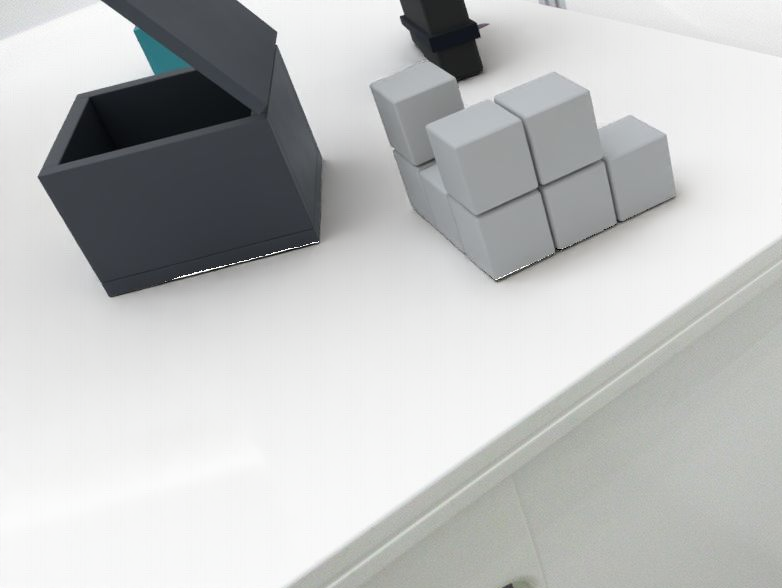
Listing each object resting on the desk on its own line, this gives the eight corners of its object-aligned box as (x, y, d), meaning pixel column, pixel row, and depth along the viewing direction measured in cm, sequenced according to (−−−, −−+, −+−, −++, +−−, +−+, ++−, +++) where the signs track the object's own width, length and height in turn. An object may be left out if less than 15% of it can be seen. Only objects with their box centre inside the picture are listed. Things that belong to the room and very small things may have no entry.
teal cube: (158, 82, 91) (132, 30, 88) (164, 63, 95) (140, 13, 92) (209, 69, 92) (185, 17, 89) (213, 51, 95) (191, 0, 92)
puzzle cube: (677, 196, 62) (655, 61, 57) (495, 283, 59) (454, 147, 53) (576, 134, 70) (548, 11, 65) (411, 207, 67) (367, 83, 61)
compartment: (109, 297, 65) (36, 177, 60) (137, 206, 74) (76, 94, 69) (319, 243, 66) (266, 118, 60) (323, 158, 74) (277, 43, 69)
